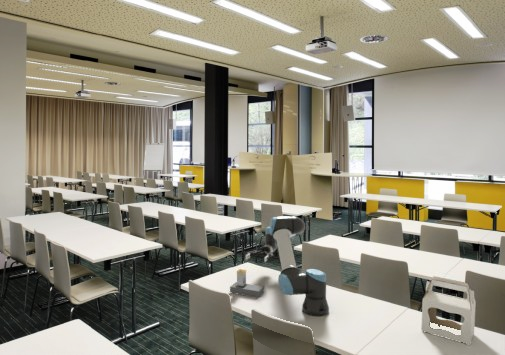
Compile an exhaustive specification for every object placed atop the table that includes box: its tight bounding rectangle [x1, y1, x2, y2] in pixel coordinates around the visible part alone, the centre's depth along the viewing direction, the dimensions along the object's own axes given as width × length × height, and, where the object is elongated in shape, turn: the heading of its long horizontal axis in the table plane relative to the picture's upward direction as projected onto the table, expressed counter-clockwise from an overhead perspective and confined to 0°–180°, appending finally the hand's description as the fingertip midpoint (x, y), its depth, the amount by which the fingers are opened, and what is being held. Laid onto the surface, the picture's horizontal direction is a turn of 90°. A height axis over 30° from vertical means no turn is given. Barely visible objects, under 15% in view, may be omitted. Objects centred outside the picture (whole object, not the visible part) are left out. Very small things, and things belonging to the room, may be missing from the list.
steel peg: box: [236, 268, 247, 288], centre depth 244 cm, size 4×4×14 cm
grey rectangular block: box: [229, 281, 265, 298], centre depth 243 cm, size 20×9×4 cm, turn 68°
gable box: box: [420, 276, 477, 345], centre depth 190 cm, size 22×13×28 cm, turn 52°
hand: (255, 258), depth 254 cm, fingers open, 13 cm apart
